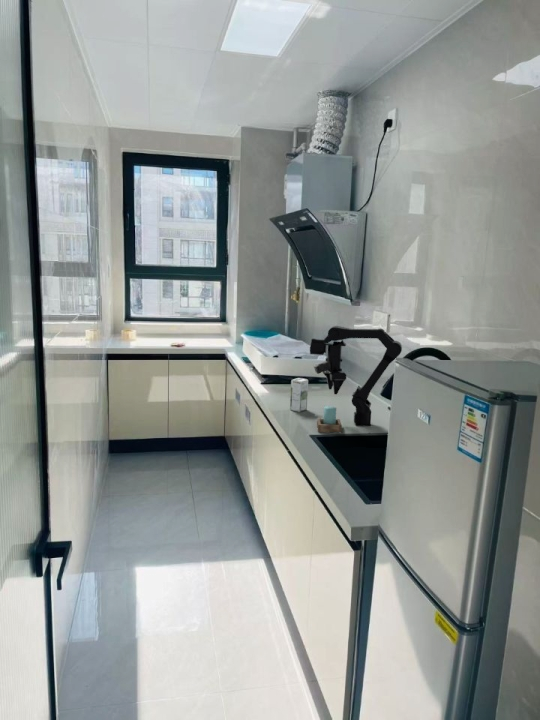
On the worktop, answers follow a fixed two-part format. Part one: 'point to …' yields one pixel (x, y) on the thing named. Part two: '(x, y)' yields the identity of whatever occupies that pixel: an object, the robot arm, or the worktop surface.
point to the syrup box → (299, 394)
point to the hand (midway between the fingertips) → (332, 391)
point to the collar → (329, 426)
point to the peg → (329, 415)
